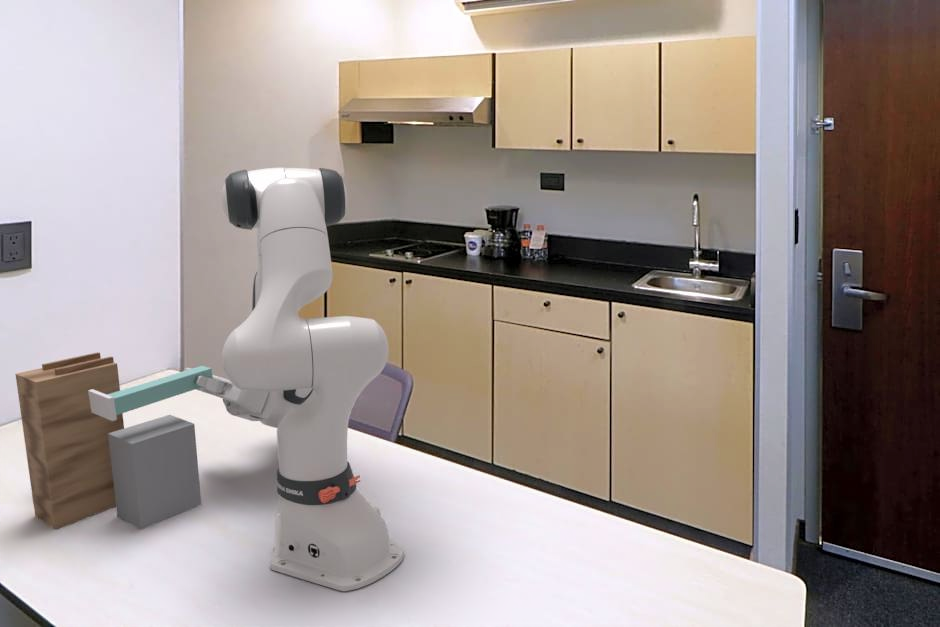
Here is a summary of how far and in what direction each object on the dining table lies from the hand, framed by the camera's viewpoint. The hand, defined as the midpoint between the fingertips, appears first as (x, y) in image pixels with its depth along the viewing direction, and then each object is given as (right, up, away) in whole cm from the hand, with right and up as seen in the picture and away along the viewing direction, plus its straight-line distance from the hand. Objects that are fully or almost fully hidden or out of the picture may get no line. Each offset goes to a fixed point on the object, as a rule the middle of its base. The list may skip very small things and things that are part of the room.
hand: (189, 377), depth 140 cm
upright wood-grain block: (-19, -24, 0) cm, 31 cm away
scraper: (-4, -3, -4) cm, 7 cm away
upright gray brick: (-5, -24, -1) cm, 25 cm away
